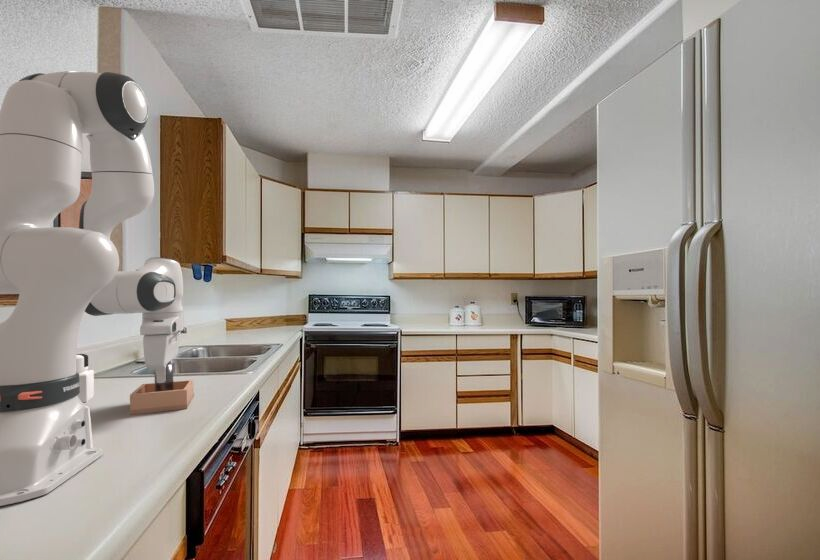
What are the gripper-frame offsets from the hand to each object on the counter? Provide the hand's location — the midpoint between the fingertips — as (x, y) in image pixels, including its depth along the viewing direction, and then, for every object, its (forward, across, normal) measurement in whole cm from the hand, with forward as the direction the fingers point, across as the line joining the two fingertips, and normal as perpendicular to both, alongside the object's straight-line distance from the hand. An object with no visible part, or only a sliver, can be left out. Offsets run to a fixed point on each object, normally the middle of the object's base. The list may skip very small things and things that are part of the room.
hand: (163, 380), depth 103 cm
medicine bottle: (+6, -14, -23) cm, 28 cm away
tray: (+6, 0, 0) cm, 6 cm away
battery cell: (+4, 0, 0) cm, 4 cm away
